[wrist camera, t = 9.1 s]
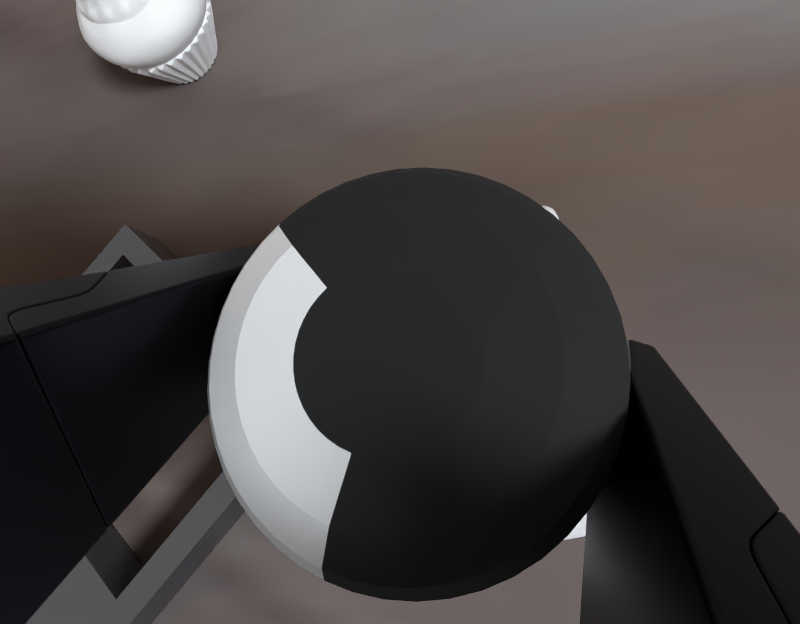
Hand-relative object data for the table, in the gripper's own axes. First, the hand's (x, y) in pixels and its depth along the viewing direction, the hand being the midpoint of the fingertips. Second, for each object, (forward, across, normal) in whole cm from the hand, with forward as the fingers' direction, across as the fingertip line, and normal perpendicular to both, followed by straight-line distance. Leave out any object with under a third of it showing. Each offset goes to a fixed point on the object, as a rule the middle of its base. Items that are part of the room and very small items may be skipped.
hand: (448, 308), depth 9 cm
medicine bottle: (+6, 0, +8) cm, 10 cm away
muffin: (+15, +19, 0) cm, 24 cm away
